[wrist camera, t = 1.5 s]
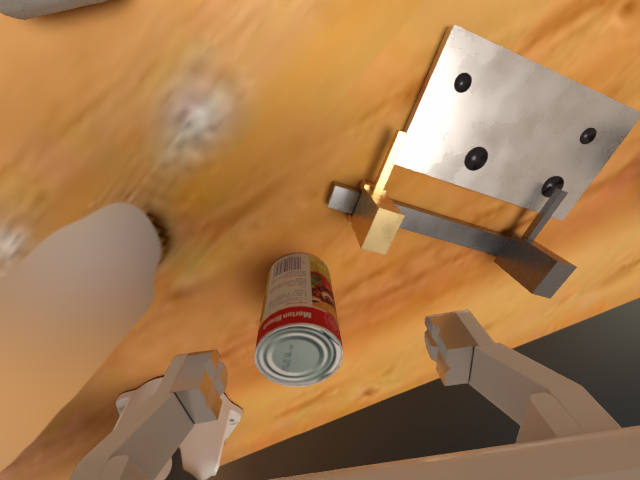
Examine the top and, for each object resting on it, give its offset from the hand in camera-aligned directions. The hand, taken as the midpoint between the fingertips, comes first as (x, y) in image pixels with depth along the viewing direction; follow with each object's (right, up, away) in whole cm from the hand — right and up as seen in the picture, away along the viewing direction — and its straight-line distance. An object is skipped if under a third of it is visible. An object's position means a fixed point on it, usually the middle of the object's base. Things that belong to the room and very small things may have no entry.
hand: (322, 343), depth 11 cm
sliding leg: (+6, +10, +19) cm, 23 cm away
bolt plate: (+20, +15, +19) cm, 31 cm away
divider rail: (+14, +9, +21) cm, 27 cm away
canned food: (-3, -1, +25) cm, 25 cm away
